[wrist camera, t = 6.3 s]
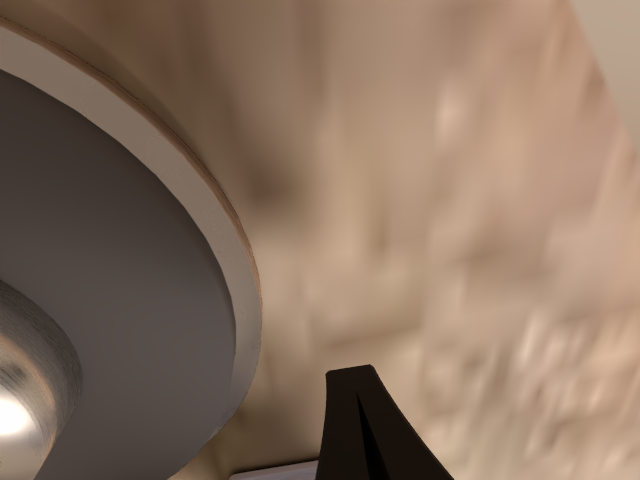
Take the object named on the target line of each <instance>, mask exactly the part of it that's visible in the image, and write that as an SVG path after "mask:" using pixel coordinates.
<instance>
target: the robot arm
mask: <svg viewBox="0 0 640 480" xmlns="http://www.w3.org/2000/svg"><path fill="white" fill-rule="evenodd" d="M325 375H326V390H327V393H326V411H325V421H324V429H323V436H322V444H321V450H320V455H319V460H317V461H311V462H305V463H299V464H293V465H287V466H281V467H275V468H269V469H262V470H256V471H250V472H244V473H238V474H234V475H232V476H231V477H230V478H229V480H454V478H453V477H452V476H451V475H450V474H449V473H448V471H447V470H446V469H445V468H444V467H443V466H442V464H441V463H440V462H439V461H438V459H437V458H436V457H435V456H434V455H433V453H432V452H431V451H430V450H429V448H428V447H427V446H426V445H425V443H424V442H423V441H422V439H421V438H420V437H419V435H418V434H417V433H416V431H415V430H414V429H413V427H412V426H411V425H410V423H409V422H408V420H407V419H406V418H405V416H404V415H403V414H402V412H401V411H400V409H399V408H398V406H397V405H396V403H395V402H394V400H393V399H392V397H391V396H390V394H389V393H388V391H387V390H386V388H385V386H384V385H383V383H382V381H381V380H380V378H379V376H378V374H377V372H376V370H375V368H374V367H373V366H372V365H370V364H369V365H362V366H356V367H350V368H343V369H337V370H331V371H328V372H327V373H326V374H325Z"/></svg>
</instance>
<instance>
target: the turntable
mask: <svg viewBox="0 0 640 480" xmlns="http://www.w3.org/2000/svg"><path fill="white" fill-rule="evenodd" d="M0 280H1V281H3V282H5V283H6V284H8V285H10V286H11V287H13V288H14V289H16V290H18V291H19V292H21V293H23V294H24V295H25V296H27V297H28V298H29V299H31V300H32V301H33V302H35V303H36V304H37V305H39V306H40V307H41V308H42V309H43V310H44V311H45V312H46V313H47V314H48V315H50V316H51V317H52V318H53V319H54V320H55V321H56V323H57V324H58V325H59V326H60V327H61V328H62V330H63V331H64V332H65V333H66V335H67V336H68V338H69V339H70V341H71V343H72V344H73V346H74V348H75V350H76V352H77V354H78V357H79V359H80V363H81V367H82V371H83V388H82V394H81V397H80V399H79V402H78V405H77V406H76V408H75V410H74V411H73V413H72V415H71V416H70V418H69V420H68V422H67V423H66V425H65V427H64V428H63V430H62V432H61V434H60V435H59V437H58V439H57V440H56V442H55V444H54V446H53V447H52V449H51V451H50V452H49V454H48V456H47V458H46V459H45V461H44V463H43V464H42V466H41V468H40V470H39V471H38V473H37V475H36V476H35V478H34V479H33V480H167V479H168V478H170V477H171V476H173V475H174V474H176V473H177V472H178V471H179V470H180V469H181V468H183V467H184V466H185V465H186V464H187V463H188V462H190V461H191V460H192V459H193V458H194V457H195V456H196V454H197V453H198V452H199V451H200V450H201V449H202V447H203V446H204V445H205V444H206V443H207V442H208V440H209V438H210V437H211V435H212V434H213V432H214V430H215V429H216V427H217V425H218V424H219V422H220V419H221V417H222V414H223V411H224V409H225V406H226V404H227V401H228V395H229V390H230V384H231V379H232V372H233V365H234V359H235V352H236V321H235V315H234V309H233V303H232V298H231V295H230V292H229V289H228V286H227V283H226V280H225V277H224V274H223V271H222V268H221V266H220V264H219V262H218V261H217V259H216V257H215V255H214V253H213V251H212V249H211V247H210V245H209V243H208V241H207V239H206V237H205V236H204V235H203V233H202V232H201V230H200V229H199V227H198V226H197V224H196V223H195V222H194V220H193V219H192V217H191V216H190V214H189V213H188V211H187V210H186V209H185V207H184V206H183V205H182V204H181V203H180V201H179V200H178V199H177V198H176V197H175V196H174V195H173V194H172V192H171V191H170V190H169V189H168V188H167V187H166V186H165V185H164V183H163V182H162V181H161V180H160V179H159V178H158V177H157V176H156V174H154V173H153V172H152V171H151V170H150V169H149V168H148V167H147V166H146V165H144V164H143V163H142V162H141V161H140V160H139V159H138V158H137V157H136V156H135V155H133V154H132V153H131V152H130V151H129V150H128V149H127V148H126V147H125V146H123V145H122V144H121V143H120V142H119V141H117V140H116V139H115V138H113V137H112V136H111V135H109V134H108V133H107V132H105V131H104V130H102V129H101V128H100V127H98V126H97V125H96V124H94V123H93V122H91V121H90V120H89V119H87V118H86V117H85V116H83V115H82V114H81V113H79V112H78V111H76V110H75V109H73V108H71V107H70V106H68V105H66V104H65V103H63V102H61V101H59V100H58V99H56V98H54V97H53V96H51V95H49V94H48V93H46V92H44V91H42V90H41V89H39V88H37V87H36V86H34V85H32V84H31V83H29V82H27V81H25V80H23V79H21V78H19V77H17V76H15V75H12V74H10V73H8V72H6V71H4V70H2V69H0Z"/></svg>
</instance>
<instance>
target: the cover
mask: <svg viewBox="0 0 640 480" xmlns="http://www.w3.org/2000/svg"><path fill="white" fill-rule="evenodd" d="M82 388H83V371H82V367H81V363H80V359H79V357H78V354H77V352H76V350H75V348H74V346H73V344H72V343H71V341H70V339H69V338H68V336H67V335H66V333H65V332H64V331H63V330H62V328H61V327H60V326H59V325H58V324H57V323H56V321H55V320H54V319H53V318H52V317H51V316H50V315H48V314H47V313H46V312H45V311H44V310H43V309H42V308H41V307H40V306H39V305H37V304H36V303H35V302H33V301H32V300H31V299H29V298H28V297H27V296H25V295H24V294H23V293H21V292H19V291H18V290H16V289H14V288H13V287H11V286H10V285H8V284H6V283H5V282H3V281H1V280H0V480H33V479H34V478H35V476H36V475H37V473H38V471H39V470H40V468H41V466H42V464H43V463H44V461H45V459H46V458H47V456H48V454H49V452H50V451H51V449H52V447H53V446H54V444H55V442H56V440H57V439H58V437H59V435H60V434H61V432H62V430H63V428H64V427H65V425H66V423H67V422H68V420H69V418H70V416H71V415H72V413H73V411H74V410H75V408H76V406H77V405H78V402H79V399H80V397H81V394H82Z"/></svg>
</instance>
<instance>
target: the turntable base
mask: <svg viewBox="0 0 640 480" xmlns="http://www.w3.org/2000/svg"><path fill="white" fill-rule="evenodd" d="M0 69H2V70H4V71H6V72H8V73H10V74H12V75H15V76H17V77H19V78H21V79H23V80H25V81H27V82H29V83H31V84H32V85H34V86H36V87H37V88H39V89H41V90H42V91H44V92H46V93H48V94H49V95H51V96H53V97H54V98H56V99H58V100H59V101H61V102H63V103H65V104H66V105H68V106H70V107H71V108H73V109H75V110H76V111H78V112H79V113H81V114H82V115H83V116H85V117H86V118H87V119H89V120H90V121H91V122H93V123H94V124H96V125H97V126H98V127H100V128H101V129H102V130H104V131H105V132H107V133H108V134H109V135H111V136H112V137H113V138H115V139H116V140H117V141H119V142H120V143H121V144H122V145H123V146H125V147H126V148H127V149H128V150H129V151H130V152H131V153H132V154H133V155H135V156H136V157H137V158H138V159H139V160H140V161H141V162H142V163H143V164H144V165H146V166H147V167H148V168H149V169H150V170H151V171H152V172H153V173H154V174H156V176H157V177H158V178H159V179H160V180H161V181H162V182H163V183H164V185H165V186H166V187H167V188H168V189H169V190H170V191H171V192H172V194H173V195H174V196H175V197H176V198H177V199H178V200H179V201H180V203H181V204H182V205H183V206H184V207H185V209H186V210H187V211H188V213H189V214H190V216H191V217H192V219H193V220H194V222H195V223H196V224H197V226H198V227H199V229H200V230H201V232H202V233H203V235H204V236H205V237H206V239H207V241H208V243H209V245H210V247H211V249H212V251H213V253H214V255H215V257H216V259H217V261H218V262H219V264H220V266H221V268H222V271H223V274H224V277H225V280H226V283H227V286H228V289H229V292H230V295H231V298H232V303H233V309H234V315H235V321H236V352H235V359H234V365H233V372H232V379H231V384H230V390H229V395H228V401H227V404H226V406H225V409H224V411H223V414H222V417H221V419H220V422H219V424H218V425H217V427H216V429H215V430H214V432H213V434H212V435H211V437H210V438H209V440H210V439H211V438H213V437H214V436H215V435H216V434H217V433H218V432H219V431H220V430H221V429H222V428H223V427H224V425H225V424H226V423H227V422H228V421H229V420H230V418H231V417H232V416H233V415H234V413H235V412H236V410H237V409H238V407H239V405H240V404H241V402H242V401H243V399H244V397H245V396H246V394H247V391H248V389H249V386H250V384H251V381H252V379H253V377H254V374H255V371H256V366H257V361H258V357H259V352H260V345H261V328H262V296H261V287H260V279H259V274H258V270H257V267H256V263H255V260H254V256H253V253H252V249H251V246H250V244H249V241H248V239H247V237H246V235H245V232H244V230H243V228H242V226H241V223H240V221H239V219H238V217H237V215H236V213H235V211H234V210H233V208H232V206H231V205H230V203H229V202H228V200H227V198H226V197H225V195H224V193H223V192H222V190H221V189H220V187H219V185H218V184H217V182H216V181H215V179H214V178H213V177H212V176H211V174H210V173H209V172H208V171H207V169H206V168H205V167H204V166H203V164H202V163H201V162H200V161H199V159H198V158H197V157H196V156H195V154H194V153H193V152H192V151H191V149H190V148H189V147H188V146H187V145H186V144H185V143H184V142H183V141H182V140H181V139H180V138H179V137H178V136H177V135H176V134H175V133H174V132H173V131H172V130H171V129H170V128H169V127H168V126H167V125H166V124H165V123H164V122H163V121H162V120H161V119H160V118H159V117H158V116H157V115H156V114H155V113H154V112H152V111H151V110H150V109H149V108H147V107H146V106H145V105H144V104H142V103H141V102H140V101H139V100H137V99H136V98H135V97H134V96H132V95H131V94H130V93H129V92H127V91H126V90H125V89H124V88H122V87H121V86H120V85H119V84H117V83H116V82H115V81H114V80H112V79H111V78H109V77H108V76H106V75H105V74H103V73H102V72H100V71H99V70H97V69H95V68H94V67H92V66H91V65H89V64H88V63H86V62H84V61H83V60H81V59H80V58H78V57H77V56H75V55H74V54H72V53H70V52H69V51H67V50H66V49H64V48H63V47H61V46H59V45H57V44H55V43H53V42H51V41H49V40H47V39H45V38H43V37H41V36H39V35H37V34H35V33H33V32H31V31H29V30H27V29H25V28H23V27H21V26H19V25H17V24H15V23H13V22H11V21H9V20H7V19H5V18H2V17H0ZM209 440H208V441H209Z"/></svg>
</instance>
